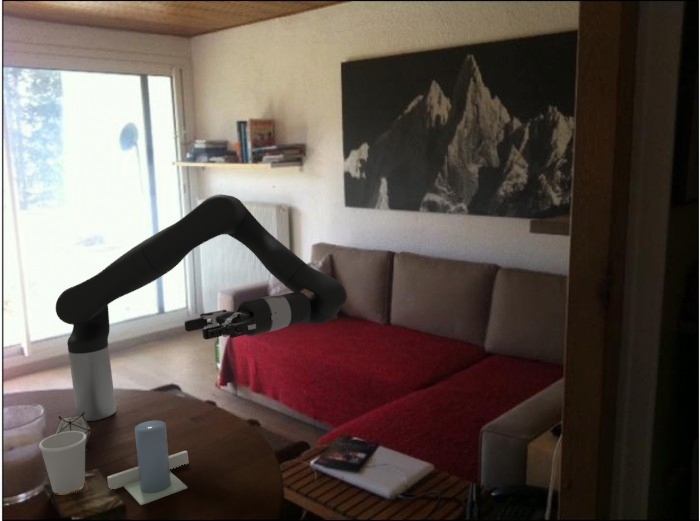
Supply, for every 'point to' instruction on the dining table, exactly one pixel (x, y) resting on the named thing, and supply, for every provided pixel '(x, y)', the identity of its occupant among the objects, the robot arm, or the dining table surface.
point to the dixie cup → (65, 460)
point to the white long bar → (133, 474)
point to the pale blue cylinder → (152, 456)
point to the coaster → (148, 497)
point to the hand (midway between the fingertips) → (194, 330)
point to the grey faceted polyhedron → (74, 426)
